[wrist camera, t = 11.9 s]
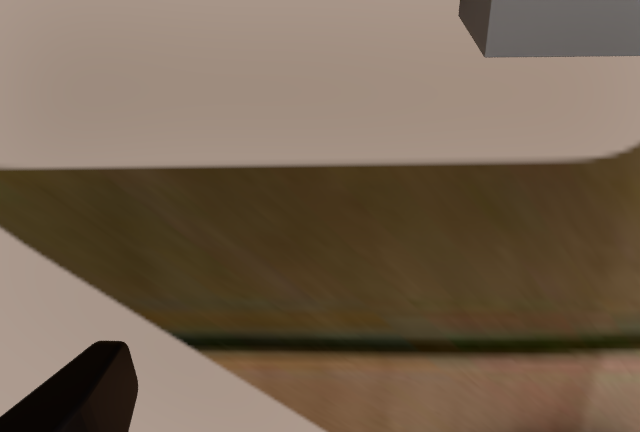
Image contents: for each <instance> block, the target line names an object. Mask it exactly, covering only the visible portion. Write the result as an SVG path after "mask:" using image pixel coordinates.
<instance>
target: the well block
mask: <svg viewBox="0 0 640 432" xmlns="http://www.w3.org/2000/svg"><path fill="white" fill-rule="evenodd" d="M459 17H460V19H461V20H462V22H463V23H464V25H465V27H466V28H467V30H468V31H469V33H470V35H471V36H472V38H473V39H474V41H475V43H476V44H477V46H478V47H479V49H480V51H481V52H482V54H483V56H484V57H566V56H567V57H569V56H570V57H572V56H573V57H574V56H640V0H460V6H459Z"/></svg>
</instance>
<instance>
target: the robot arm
mask: <svg viewBox="0 0 640 432" xmlns="http://www.w3.org/2000/svg"><path fill="white" fill-rule="evenodd" d="M137 393H138V380H137V376H136V372H135V369H134V365H133V362H132V358H131V354H130V351H129V348H128V346H127V344H126V343H124V342H122V341H98V342H96V343H94V344H92V345H91V346H90V347H88V348H87V349H86V350H85V351H83V352H82V353H81V354H80V355H78V356H77V357H76V358H74V359H73V360H72V361H71V362H69V363H68V364H67V365H66V366H64V367H63V368H62V369H60V370H59V371H58V372H57V373H56V374H54V375H53V376H52V377H50V378H49V379H48V380H47V381H45V382H44V383H43V384H42V385H40V386H39V387H38V388H36V389H35V390H34V391H33V392H31V393H30V394H29V395H27V396H26V397H25V398H24V399H22V400H21V401H20V402H19V403H17V404H16V405H15V406H13V407H12V408H11V409H10V410H8V411H7V412H6V413H5V414H3V415H2V416H1V417H0V432H128V430H129V427H130V422H131V419H132V415H133V410H134V406H135V402H136V398H137Z"/></svg>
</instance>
